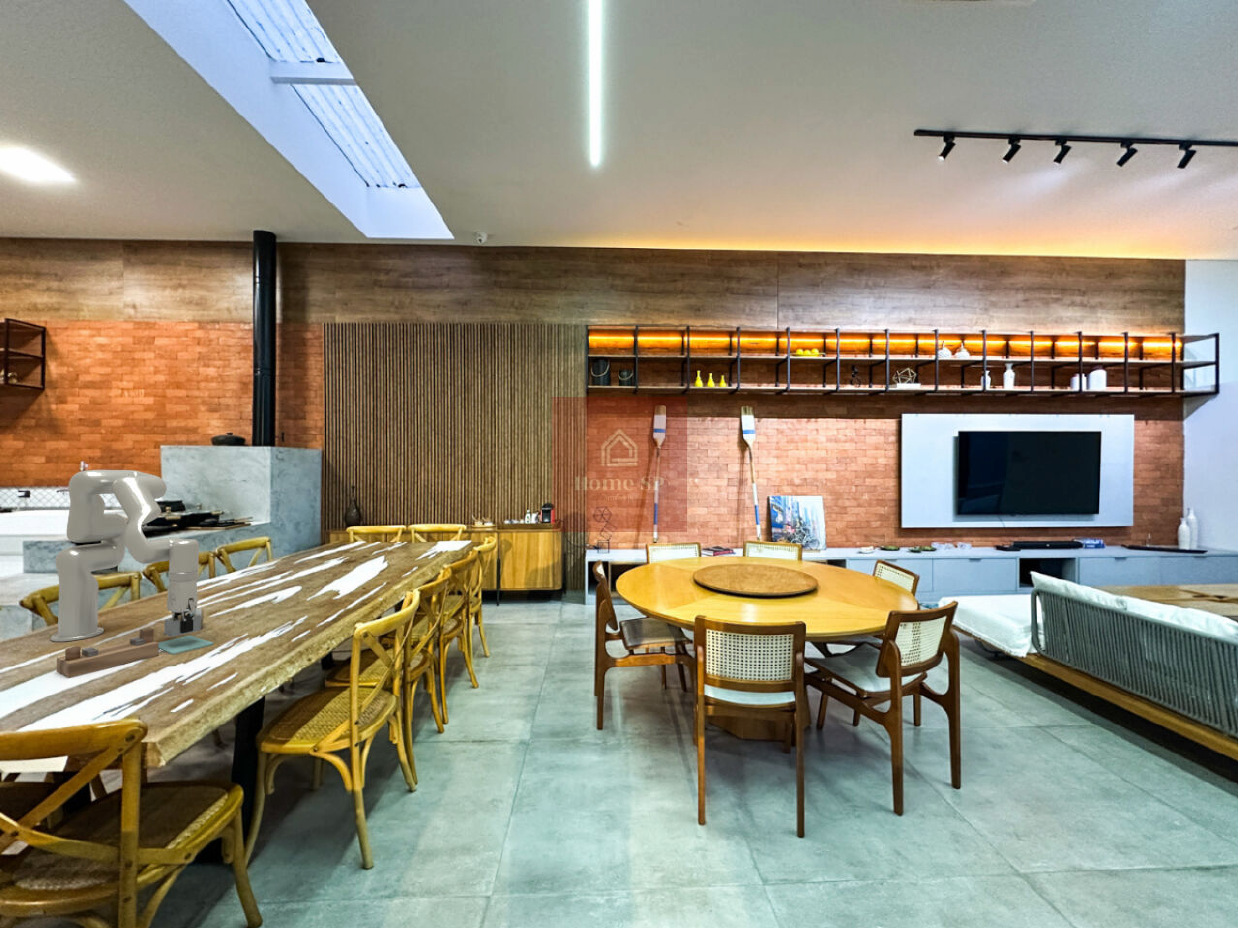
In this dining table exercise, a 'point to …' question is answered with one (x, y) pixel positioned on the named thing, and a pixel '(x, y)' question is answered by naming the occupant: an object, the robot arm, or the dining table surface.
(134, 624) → the dining table surface
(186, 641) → the mat
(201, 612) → the ceramic mug
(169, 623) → the lever cap
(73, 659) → the plane body
